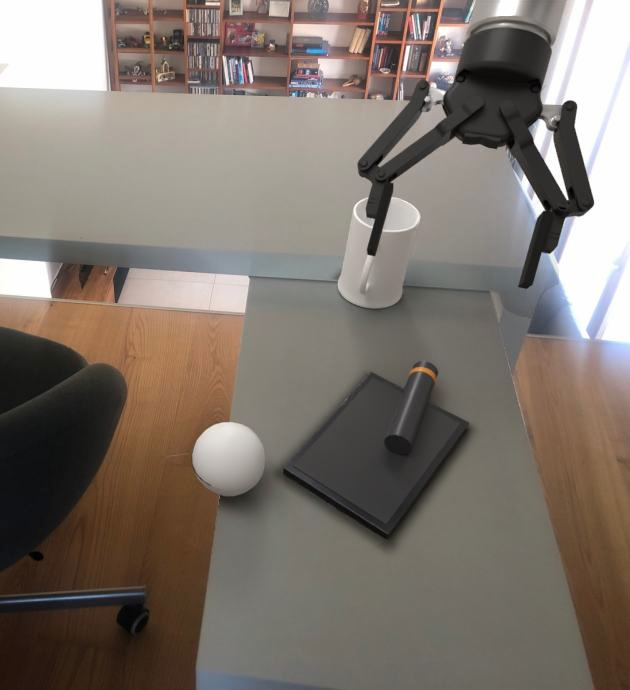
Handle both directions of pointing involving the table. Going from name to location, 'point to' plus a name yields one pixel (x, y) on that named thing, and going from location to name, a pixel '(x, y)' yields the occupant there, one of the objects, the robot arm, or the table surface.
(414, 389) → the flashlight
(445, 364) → the table surface
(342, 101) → the table surface
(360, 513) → the tablet
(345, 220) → the table surface
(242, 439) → the white sphere
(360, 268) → the mug
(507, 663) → the table surface
